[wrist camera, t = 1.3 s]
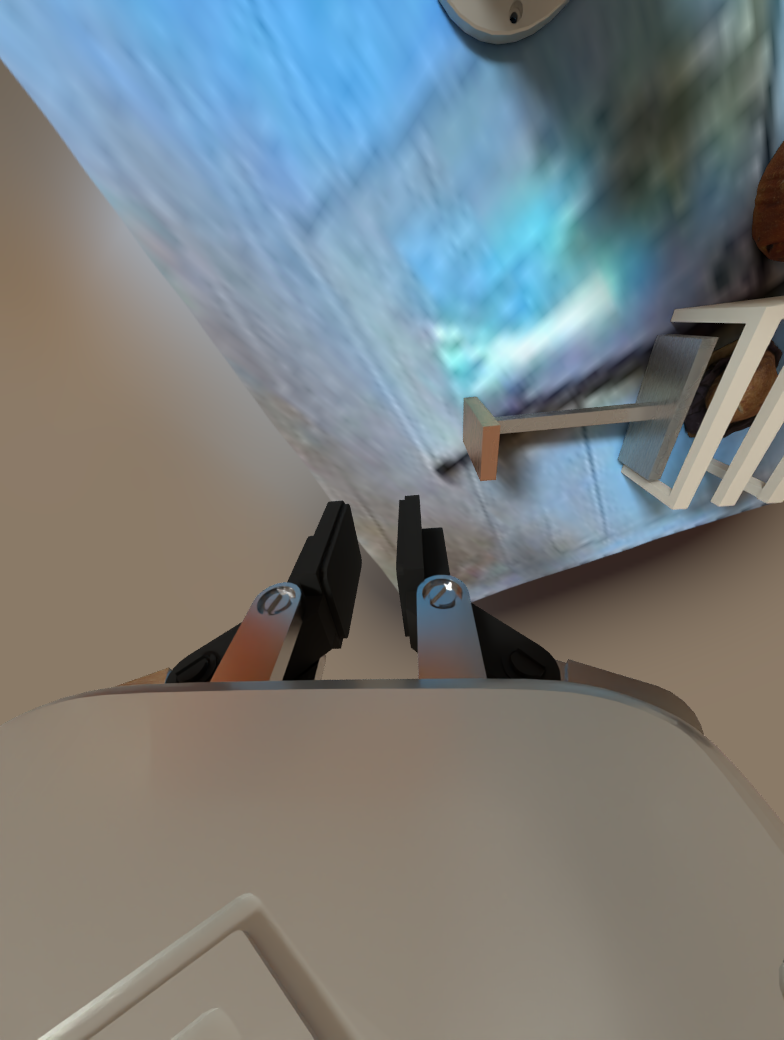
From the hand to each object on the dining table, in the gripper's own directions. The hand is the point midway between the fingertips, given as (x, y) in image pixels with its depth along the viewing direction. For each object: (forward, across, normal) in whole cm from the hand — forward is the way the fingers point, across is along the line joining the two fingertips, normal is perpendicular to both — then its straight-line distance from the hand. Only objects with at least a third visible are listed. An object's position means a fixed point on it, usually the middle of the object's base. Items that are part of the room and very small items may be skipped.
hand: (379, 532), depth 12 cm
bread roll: (+28, -35, +4) cm, 45 cm away
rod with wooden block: (+27, -17, +4) cm, 32 cm away
